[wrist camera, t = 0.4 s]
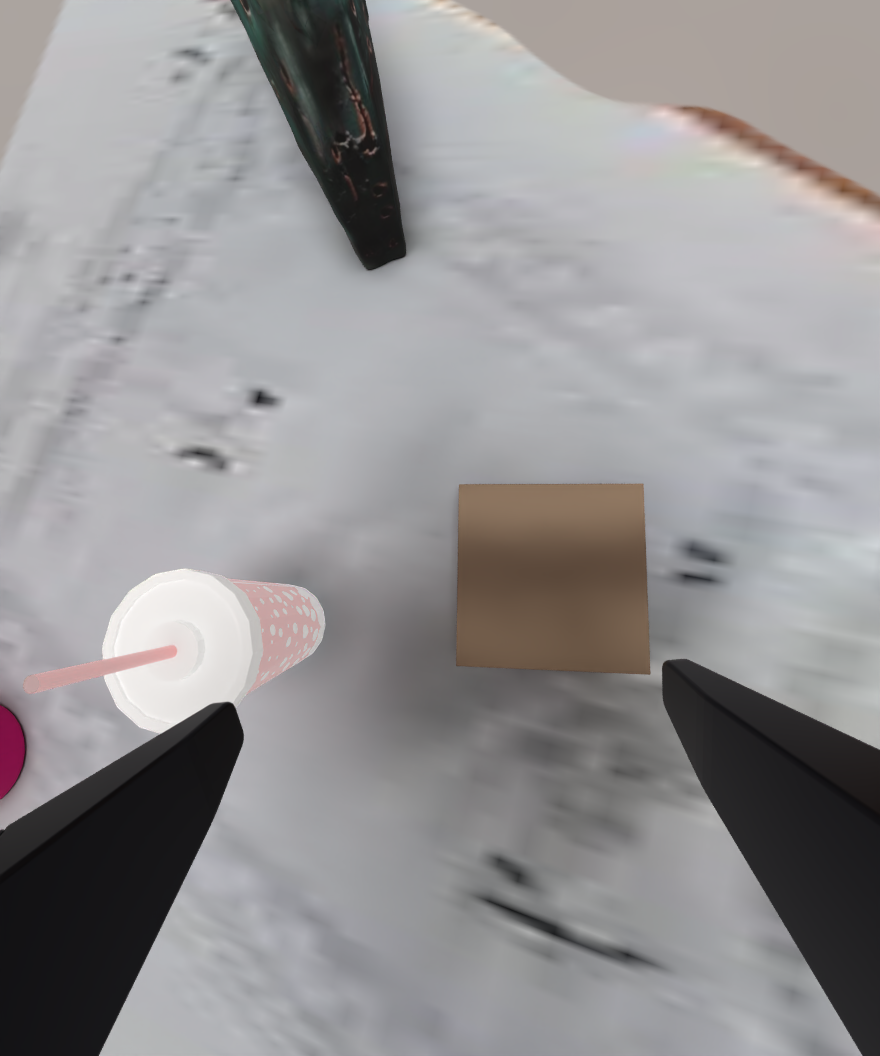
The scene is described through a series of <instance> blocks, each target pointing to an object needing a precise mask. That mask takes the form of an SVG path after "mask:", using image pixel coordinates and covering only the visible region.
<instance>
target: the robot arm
mask: <svg viewBox="0 0 880 1056" xmlns="http://www.w3.org/2000/svg"><path fill="white" fill-rule="evenodd" d="M662 695H663V702H664V706H665V709H666V711H667V713H668V715H669V717H670V719H671V722H672V724H673V726H674V728H675V730H676V732H677V734H678V736H679V739H680V741H681V743H682V745H683V747H684V749H685V751H686V754H687V756H688V758H689V760H690V762H691V764H692V766H693V768H694V771H695V773H696V775H697V777H698V779H699V781H700V783H701V785H702V787H703V789H704V790H705V792H706V794H707V796H708V797H709V799H710V801H711V803H712V804H713V806H714V808H715V809H716V811H717V813H718V814H719V816H720V818H721V819H722V821H723V823H724V824H725V826H726V828H727V829H728V831H729V833H730V834H731V836H732V838H733V839H734V841H735V843H736V844H737V846H738V848H739V849H740V851H741V853H742V855H743V856H744V858H745V860H746V861H747V863H748V865H749V866H750V868H751V870H752V871H753V873H754V875H755V876H756V878H757V880H758V881H759V883H760V885H761V886H762V888H763V890H764V891H765V893H766V895H767V896H768V898H769V900H770V901H771V903H772V905H773V906H774V908H775V910H776V912H777V913H778V915H779V917H780V918H781V920H782V922H783V923H784V925H785V927H786V928H787V930H788V932H789V933H790V935H791V937H792V938H793V940H794V942H795V943H796V945H797V947H798V948H799V950H800V952H801V953H802V955H803V957H804V958H805V960H806V962H807V964H808V965H809V967H810V969H811V970H812V972H813V974H814V975H815V977H816V979H817V980H818V982H819V984H820V985H821V987H822V989H823V990H824V992H825V994H826V995H827V997H828V999H829V1000H830V1002H831V1004H832V1005H833V1007H834V1009H835V1010H836V1012H837V1014H838V1015H839V1017H840V1019H841V1021H842V1022H843V1024H844V1026H845V1027H846V1029H847V1031H848V1032H849V1034H850V1036H851V1037H852V1039H853V1041H854V1042H855V1044H856V1046H857V1047H858V1049H859V1051H860V1052H861V1054H862V1056H880V750H879V749H877V748H875V747H873V746H871V745H868V744H866V743H864V742H862V741H860V740H858V739H856V738H854V737H851V736H849V735H847V734H845V733H843V732H841V731H839V730H837V729H834V728H832V727H830V726H828V725H826V724H824V723H822V722H820V721H817V720H815V719H813V718H811V717H809V716H807V715H805V714H803V713H800V712H798V711H796V710H794V709H792V708H790V707H788V706H786V705H783V704H781V703H779V702H777V701H775V700H773V699H771V698H769V697H766V696H764V695H762V694H760V693H758V692H756V691H754V690H752V689H749V688H747V687H745V686H743V685H741V684H739V683H737V682H735V681H732V680H730V679H728V678H726V677H724V676H722V675H720V674H718V673H715V672H713V671H711V670H709V669H707V668H705V667H703V666H701V665H698V664H696V663H694V662H692V661H690V660H687V659H676V660H667V661H665V662H664V663H663V666H662ZM243 740H244V733H243V729H242V726H241V723H240V720H239V717H238V714H237V711H236V708H235V706H234V704H233V703H231V702H218V703H212V704H210V705H208V706H206V707H205V708H203V709H201V710H200V711H198V712H196V713H195V714H193V715H191V716H190V717H188V718H186V719H185V720H183V721H181V722H180V723H178V724H176V725H175V726H173V727H171V728H170V729H168V730H166V731H165V732H163V733H161V734H160V735H158V736H156V737H155V738H153V739H151V740H150V741H148V742H146V743H145V744H143V745H141V746H140V747H138V748H136V749H135V750H133V751H131V752H130V753H128V754H126V755H125V756H123V757H121V758H120V759H118V760H116V761H115V762H113V763H111V764H110V765H108V766H106V767H105V768H103V769H101V770H100V771H98V772H96V773H95V774H93V775H91V776H90V777H88V778H86V779H85V780H83V781H81V782H80V783H78V784H76V785H75V786H73V787H71V788H70V789H68V790H66V791H65V792H63V793H61V794H60V795H58V796H57V797H55V798H53V799H52V800H50V801H48V802H47V803H45V804H43V805H42V806H40V807H38V808H37V809H35V810H33V811H32V812H30V813H28V814H27V815H25V816H23V817H22V818H20V819H18V820H17V821H15V822H13V823H12V824H10V825H8V826H7V827H6V829H5V830H0V1056H99V1054H100V1052H101V1050H102V1048H103V1046H104V1044H105V1042H106V1040H107V1038H108V1036H109V1034H110V1031H111V1029H112V1027H113V1025H114V1023H115V1021H116V1019H117V1017H118V1015H119V1013H120V1011H121V1009H122V1007H123V1005H124V1003H125V1001H126V999H127V997H128V994H129V992H130V990H131V988H132V986H133V984H134V982H135V980H136V978H137V976H138V974H139V972H140V970H141V968H142V966H143V964H144V962H145V960H146V957H147V955H148V953H149V951H150V949H151V947H152V945H153V943H154V941H155V939H156V937H157V935H158V933H159V931H160V929H161V927H162V925H163V923H164V920H165V918H166V916H167V914H168V912H169V910H170V908H171V906H172V904H173V902H174V900H175V898H176V896H177V894H178V892H179V890H180V888H181V886H182V883H183V881H184V879H185V877H186V875H187V873H188V871H189V869H190V867H191V865H192V863H193V861H194V859H195V857H196V855H197V853H198V851H199V849H200V847H201V844H202V842H203V840H204V838H205V836H206V834H207V832H208V830H209V828H210V826H211V823H212V821H213V819H214V817H215V814H216V812H217V809H218V807H219V805H220V802H221V799H222V797H223V794H224V792H225V789H226V786H227V784H228V781H229V779H230V776H231V773H232V771H233V768H234V766H235V763H236V761H237V758H238V755H239V753H240V750H241V748H242V745H243Z"/></svg>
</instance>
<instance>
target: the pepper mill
mask: <svg viewBox="0 0 880 1056" xmlns="http://www.w3.org/2000/svg"><path fill="white" fill-rule="evenodd" d="M24 755H25V744H24V736H23V732H22V729H21V726H20V724H19V723H18V721H17V720H16V718H15V716H14V715H13V714H12V713H11V712H10V711H9V710H8V709H6V708H4V707H2V706H1V705H0V799H1V798H3V797H4V796H5V795H6V794H7V793H8V791H9V790H10V789H11V787H12V786H13V785H14V783H15V782H16V780H17V778H18V776H19V773H20V771H21V769H22V766H23V761H24Z"/></svg>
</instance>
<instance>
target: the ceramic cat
mask: <svg viewBox="0 0 880 1056" xmlns="http://www.w3.org/2000/svg"><path fill="white" fill-rule="evenodd" d="M231 2H232V4H233V6H234V8H235V10H236V12H237V14H238V16H239V18H240V20H241V22H242V24H243V26H244V28H245V30H246V32H247V34H248V36H249V39H250V41H251V43H252V45H253V48H254V50H255V52H256V55H257V57H258V59H259V61H260V63H261V66H262V68H263V70H264V72H265V74H266V76H267V78H268V80H269V82H270V84H271V86H272V88H273V90H274V92H275V94H276V97H277V99H278V101H279V103H280V105H281V108H282V110H283V112H284V114H285V116H286V118H287V121H288V123H289V125H290V127H291V129H292V132H293V134H294V137H295V139H296V142H297V144H298V147H299V149H300V150H301V152H302V154H303V156H304V158H305V159H306V161H307V163H308V164H309V166H310V168H311V169H312V171H313V173H314V175H315V176H316V178H317V180H318V182H319V184H320V186H321V188H322V190H323V192H324V194H325V196H326V198H327V199H328V201H329V203H330V205H331V207H332V209H333V211H334V213H335V215H336V217H337V219H338V220H339V222H340V223H341V225H342V226H343V228H344V230H345V232H346V234H347V236H348V238H349V240H350V242H351V244H352V247H353V249H354V251H355V253H356V254H357V256H358V257H359V259H360V261H361V262H362V264H363V265H364V267H365V268H366V269H374V268H377V267H379V266H381V265H383V264H385V263H387V262H388V261H390V260H392V259H396V258H399V257H402V256H405V254H406V246H405V240H404V235H403V229H402V223H401V213H400V203H399V197H398V192H397V186H396V181H395V175H394V169H393V163H392V156H391V149H390V142H389V135H388V129H387V123H386V117H385V111H384V105H383V98H382V92H381V86H380V79H379V74H378V68H377V63H376V58H375V53H374V48H373V43H372V38H371V34H370V29H369V25H368V21H369V16H368V11H367V6H366V1H365V0H231Z"/></svg>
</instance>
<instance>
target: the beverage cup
mask: <svg viewBox="0 0 880 1056" xmlns="http://www.w3.org/2000/svg"><path fill="white" fill-rule="evenodd" d="M325 626H326V625H325V617H324V610H323V608H322V606H321V605H320V603H319V601H318V599H317V598H316V596H314V595H313V594H312V593H311V592H309V591H308V590H307V589H305V588H303V587H299V586H295V585H290V584H280V583H269V582H258V581H247V580H237V579H227V578H226V577H224V576H221V575H217V574H213V573H209V572H205V571H201V570H192V569H179V570H174V571H168V572H163V573H158V574H154V575H153V576H151V577H150V578H148V579H147V580H145V581H144V582H142V583H141V584H139V585H138V586H136V587H135V588H133V589H131V590H130V591H129V592H128V594H127V595H126V596H125V598H124V599H123V601H122V602H121V603H120V605H119V606H118V608H117V609H116V610H115V612H114V613H113V614H112V616H111V619H110V622H109V626H108V629H107V632H106V636H105V639H104V643H103V646H102V651H103V660H99V661H95V662H90V663H86V664H81V665H76V666H72V667H67V668H62V669H58V670H53V671H48V672H44V673H39V674H35V675H30V676H28V677H26V679H25V680H24V683H23V689H24V691H25V692H26V693H28V694H34V693H38V692H42V691H45V690H49V689H53V688H57V687H61V686H65V685H69V684H73V683H76V682H80V681H84V680H88V679H92V678H96V677H100V676H104V679H105V682H106V684H107V686H108V688H109V690H110V693H111V695H112V697H113V699H114V701H115V703H116V706H117V707H118V708H119V709H120V710H121V711H122V712H123V713H124V714H125V715H126V716H128V717H129V718H130V719H131V720H132V721H133V722H134V723H135V724H136V725H137V726H139V727H140V728H143V729H147V730H150V731H153V732H157V733H160V734H161V733H163V732H165V731H166V730H168V729H170V728H171V727H173V726H175V725H176V724H178V723H180V722H181V721H183V720H185V719H186V718H188V717H190V716H191V715H193V714H195V713H196V712H198V711H200V710H201V709H203V708H205V707H206V706H208V705H210V704H212V703H218V702H231V703H233V704H234V706H235V708H236V707H238V705H239V704H240V702H241V701H242V699H243V698H244V697H245V695H247V694H248V693H250V692H251V691H253V690H255V689H256V688H258V687H260V686H261V685H263V684H265V683H266V682H268V681H269V680H271V679H273V678H274V677H276V676H278V675H279V674H281V673H282V672H284V671H286V670H287V669H289V668H291V667H292V666H294V665H296V664H297V663H299V662H300V661H302V660H303V659H305V658H307V657H308V656H310V655H311V654H313V653H314V651H315V650H316V648H317V647H318V645H319V644H320V643H321V641H322V638H323V634H324V630H325Z"/></svg>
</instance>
